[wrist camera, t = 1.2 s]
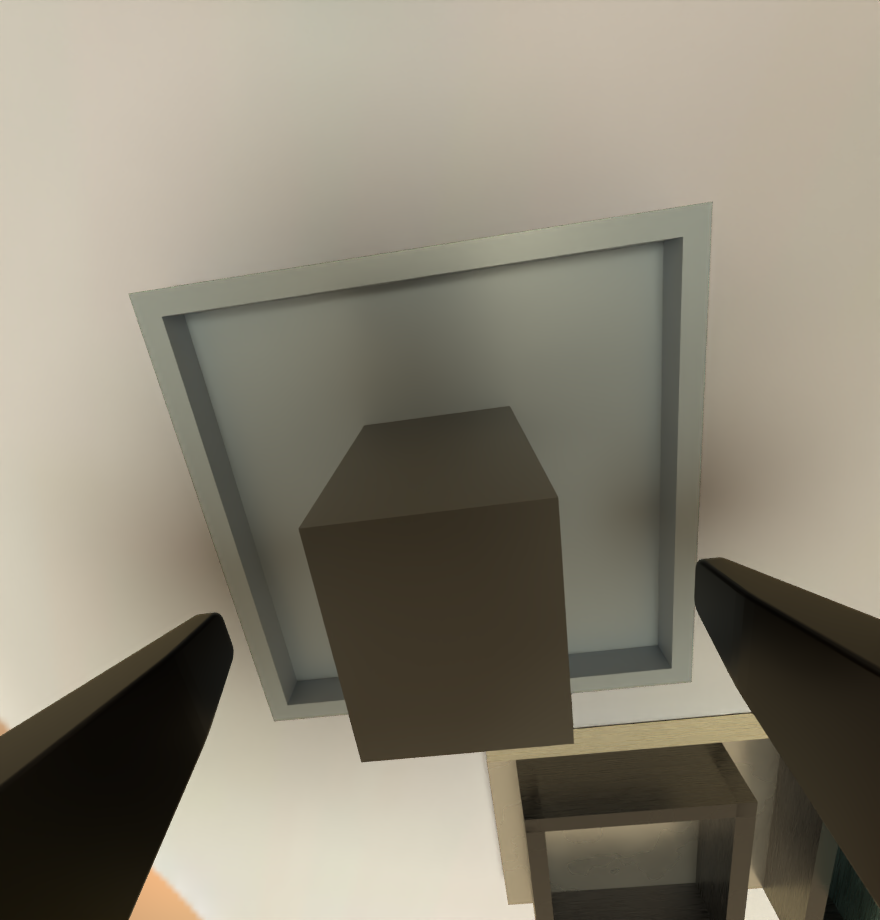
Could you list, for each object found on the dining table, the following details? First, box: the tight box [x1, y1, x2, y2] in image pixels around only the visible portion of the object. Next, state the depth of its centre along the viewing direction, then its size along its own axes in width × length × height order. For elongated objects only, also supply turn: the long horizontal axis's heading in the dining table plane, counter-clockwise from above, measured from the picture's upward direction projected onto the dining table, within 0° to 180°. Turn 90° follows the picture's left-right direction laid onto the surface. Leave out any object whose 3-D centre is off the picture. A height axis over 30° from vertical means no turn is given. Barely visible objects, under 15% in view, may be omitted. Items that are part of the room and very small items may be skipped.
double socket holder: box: [486, 713, 880, 920], centre depth 16 cm, size 18×8×5 cm, turn 98°
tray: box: [129, 202, 713, 721], centre depth 13 cm, size 13×13×2 cm
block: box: [298, 406, 574, 762], centre depth 11 cm, size 4×5×6 cm
